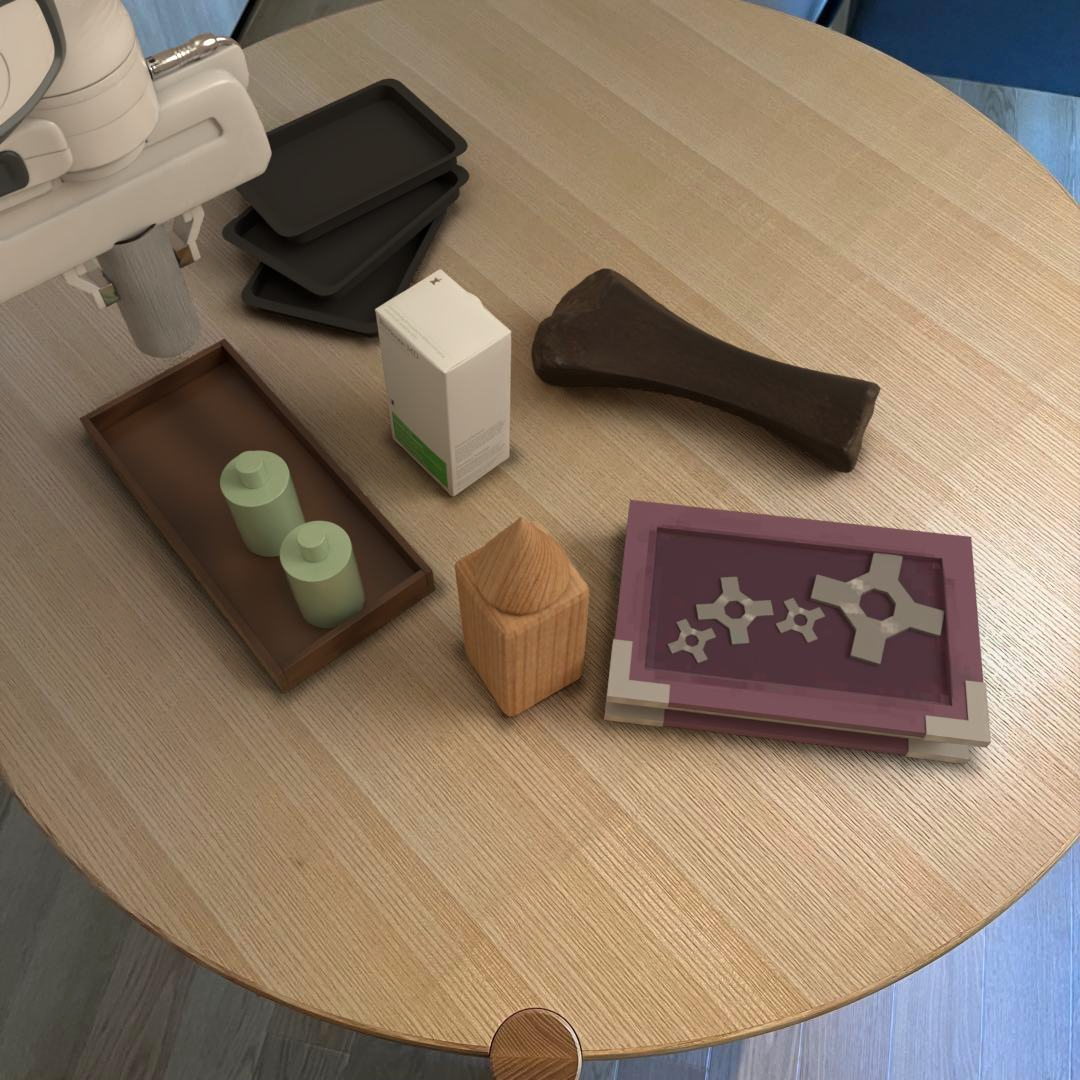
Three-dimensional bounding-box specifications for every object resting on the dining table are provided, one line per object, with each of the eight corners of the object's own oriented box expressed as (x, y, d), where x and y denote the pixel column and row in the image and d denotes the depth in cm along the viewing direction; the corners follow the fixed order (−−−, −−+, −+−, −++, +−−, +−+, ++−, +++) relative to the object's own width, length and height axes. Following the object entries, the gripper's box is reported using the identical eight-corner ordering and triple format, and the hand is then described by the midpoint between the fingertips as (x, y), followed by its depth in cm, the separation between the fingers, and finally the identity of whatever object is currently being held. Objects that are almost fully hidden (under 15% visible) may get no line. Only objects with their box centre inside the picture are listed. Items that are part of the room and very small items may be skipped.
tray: (436, 353, 98) (431, 311, 94) (178, 327, 100) (161, 285, 96) (488, 131, 114) (486, 86, 110) (265, 112, 116) (254, 67, 111)
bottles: (322, 641, 82) (299, 579, 75) (229, 526, 88) (199, 457, 80) (378, 603, 84) (361, 539, 76) (283, 492, 89) (259, 422, 82)
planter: (166, 369, 75) (117, 254, 67) (120, 338, 77) (66, 222, 68) (215, 329, 77) (174, 212, 68) (169, 299, 79) (123, 181, 70)
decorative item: (508, 723, 80) (500, 583, 63) (461, 652, 83) (442, 500, 66) (586, 678, 82) (598, 530, 65) (538, 610, 85) (538, 452, 68)
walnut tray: (284, 693, 81) (276, 676, 79) (91, 440, 93) (78, 418, 91) (435, 589, 86) (432, 569, 83) (232, 361, 98) (224, 337, 95)
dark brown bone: (529, 384, 99) (828, 505, 96) (516, 358, 89) (851, 494, 86) (577, 270, 99) (877, 389, 96) (570, 231, 89) (906, 363, 86)
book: (603, 724, 80) (607, 695, 76) (624, 534, 88) (628, 498, 84) (966, 769, 78) (990, 742, 74) (952, 570, 87) (973, 536, 82)
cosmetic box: (391, 439, 93) (366, 306, 80) (453, 398, 96) (439, 262, 83) (455, 501, 90) (440, 374, 77) (517, 457, 92) (513, 326, 79)
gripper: (207, -5, 66) (257, 184, 77) (-135, 141, 59) (-23, 325, 71) (264, 47, 63) (307, 234, 75) (-86, 206, 56) (22, 385, 68)
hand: (145, 279), depth 73 cm, fingers closed on planter, 4 cm apart
